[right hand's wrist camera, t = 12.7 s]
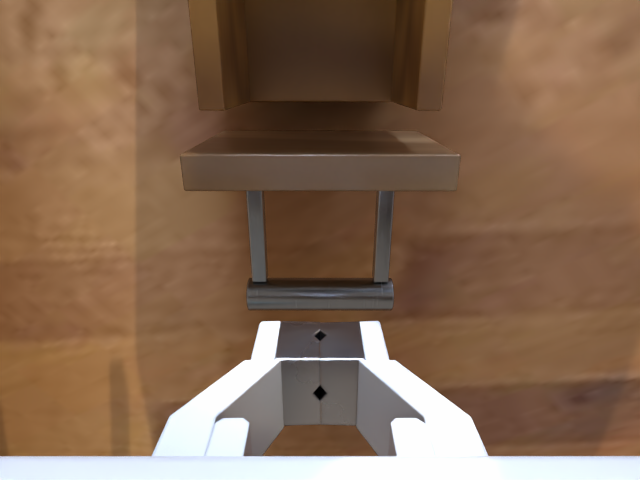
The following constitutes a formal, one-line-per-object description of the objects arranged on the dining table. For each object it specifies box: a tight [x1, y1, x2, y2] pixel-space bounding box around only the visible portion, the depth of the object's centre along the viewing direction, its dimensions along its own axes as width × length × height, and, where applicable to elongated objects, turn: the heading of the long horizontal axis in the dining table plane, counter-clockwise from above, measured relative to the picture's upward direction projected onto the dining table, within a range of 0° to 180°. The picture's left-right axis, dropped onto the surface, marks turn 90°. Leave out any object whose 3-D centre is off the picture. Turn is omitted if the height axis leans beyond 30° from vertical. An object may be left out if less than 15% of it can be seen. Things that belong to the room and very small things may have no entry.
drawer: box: [180, 0, 461, 311], centre depth 14 cm, size 22×9×6 cm, turn 0°
